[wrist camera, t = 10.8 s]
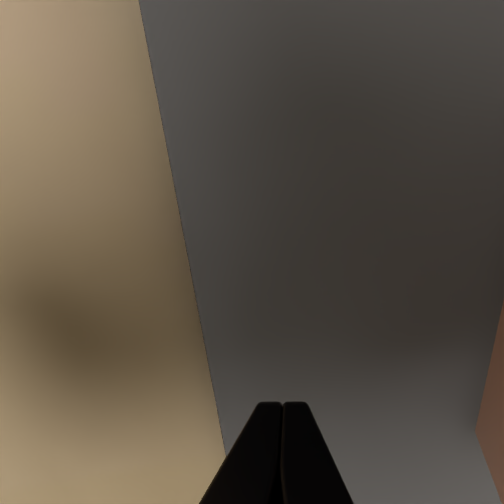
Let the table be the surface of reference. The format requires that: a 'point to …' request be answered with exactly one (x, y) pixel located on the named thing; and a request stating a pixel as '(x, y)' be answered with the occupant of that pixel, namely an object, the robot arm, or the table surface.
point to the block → (494, 412)
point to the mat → (345, 221)
